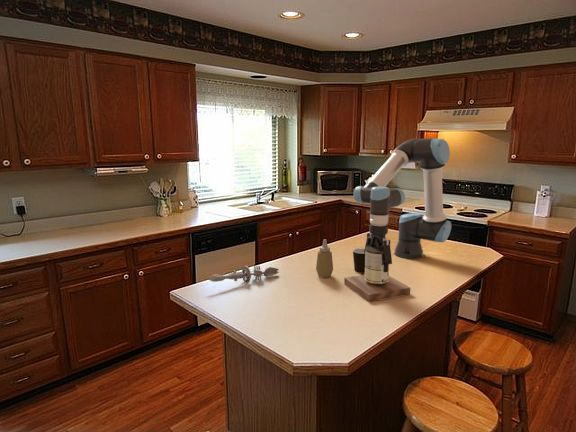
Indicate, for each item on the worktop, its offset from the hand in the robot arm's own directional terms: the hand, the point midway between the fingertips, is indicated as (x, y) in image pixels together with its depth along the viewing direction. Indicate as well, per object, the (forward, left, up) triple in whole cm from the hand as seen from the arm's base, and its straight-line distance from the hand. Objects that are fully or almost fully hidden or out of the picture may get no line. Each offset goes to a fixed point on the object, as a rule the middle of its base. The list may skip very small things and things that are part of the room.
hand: (376, 274), depth 162 cm
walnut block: (0, 0, -7) cm, 7 cm away
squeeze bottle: (+14, -22, -7) cm, 27 cm away
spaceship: (+51, -28, -7) cm, 58 cm away
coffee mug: (-5, -22, -7) cm, 24 cm away
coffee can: (0, 0, -2) cm, 2 cm away
